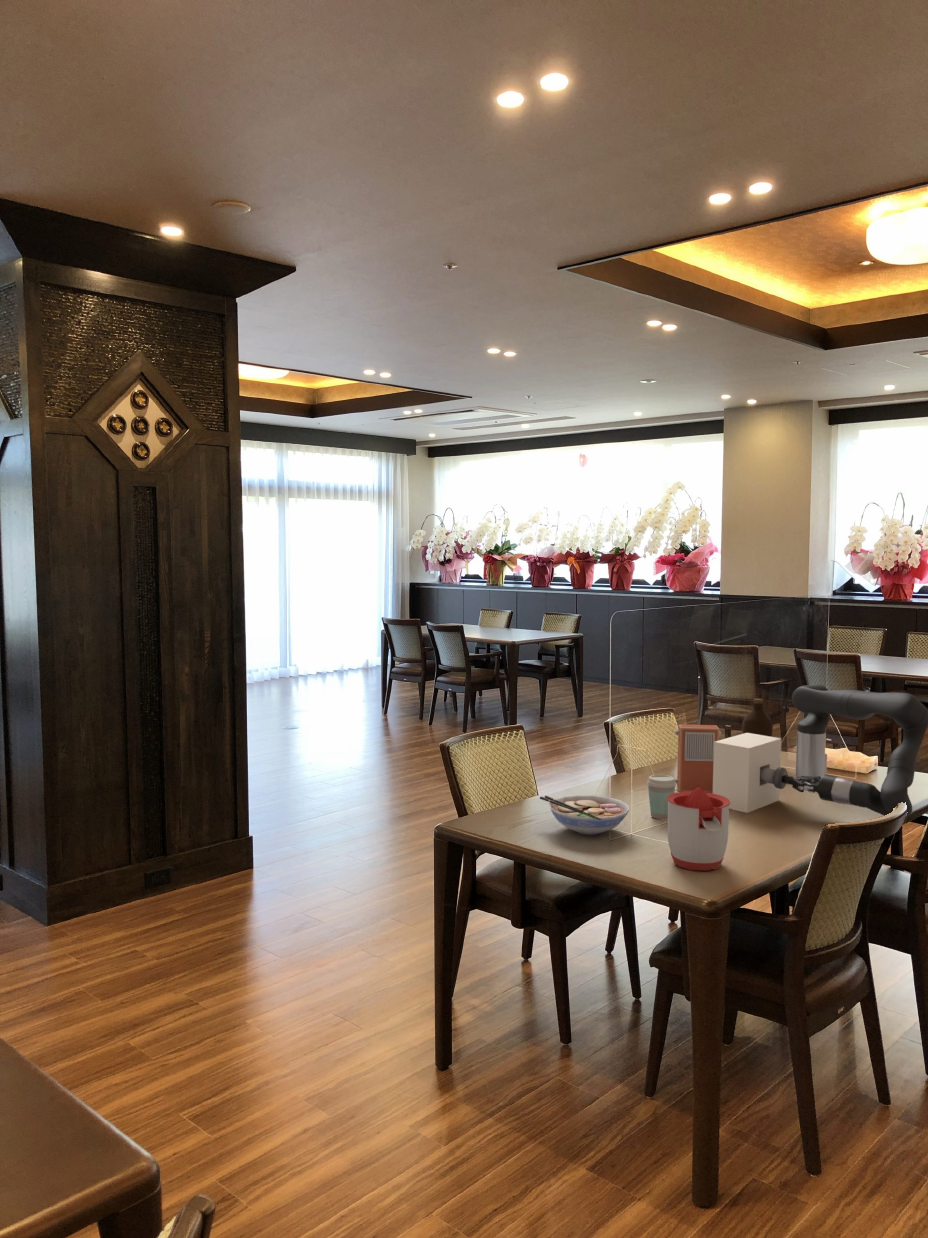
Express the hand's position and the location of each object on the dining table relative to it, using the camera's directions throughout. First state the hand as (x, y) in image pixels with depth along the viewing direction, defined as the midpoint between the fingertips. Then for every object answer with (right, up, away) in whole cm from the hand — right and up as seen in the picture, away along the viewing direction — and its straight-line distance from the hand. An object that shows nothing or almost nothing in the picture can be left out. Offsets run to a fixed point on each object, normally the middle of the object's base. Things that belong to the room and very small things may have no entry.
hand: (783, 778), depth 287 cm
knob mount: (-9, -9, +9) cm, 16 cm away
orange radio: (-20, -8, +24) cm, 32 cm away
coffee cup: (-39, -11, -6) cm, 41 cm away
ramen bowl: (-62, -12, -20) cm, 66 cm away
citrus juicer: (-38, -14, -47) cm, 62 cm away
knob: (-3, -3, +3) cm, 6 cm away
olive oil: (+9, -5, +56) cm, 57 cm away
